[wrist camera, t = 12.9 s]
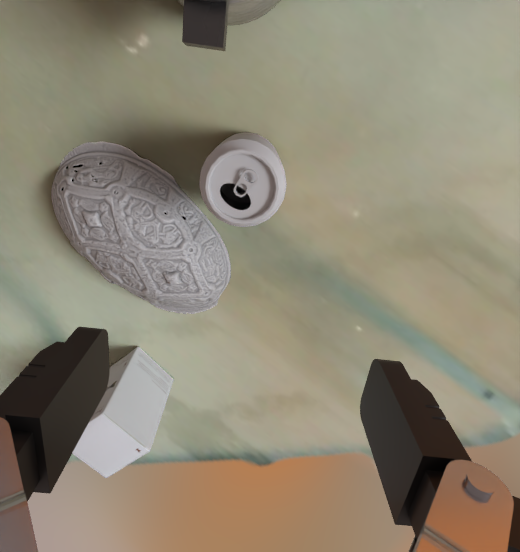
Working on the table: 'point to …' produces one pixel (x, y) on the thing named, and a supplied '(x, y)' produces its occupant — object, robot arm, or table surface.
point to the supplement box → (125, 414)
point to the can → (243, 180)
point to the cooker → (218, 19)
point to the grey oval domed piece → (140, 228)
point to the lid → (216, 0)
